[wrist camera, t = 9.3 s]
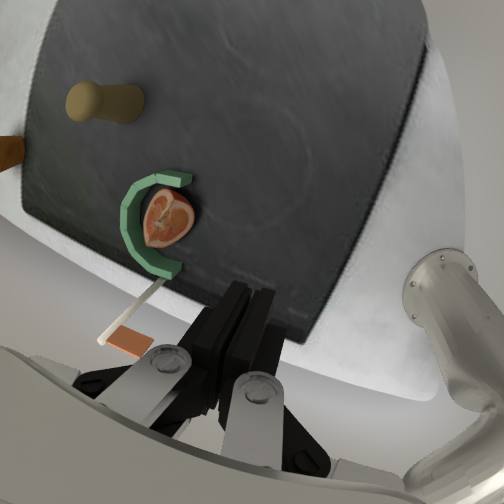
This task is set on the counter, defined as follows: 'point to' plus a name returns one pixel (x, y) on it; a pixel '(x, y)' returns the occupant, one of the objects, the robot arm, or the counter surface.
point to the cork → (104, 102)
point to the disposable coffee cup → (11, 151)
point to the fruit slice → (167, 218)
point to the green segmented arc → (142, 260)
